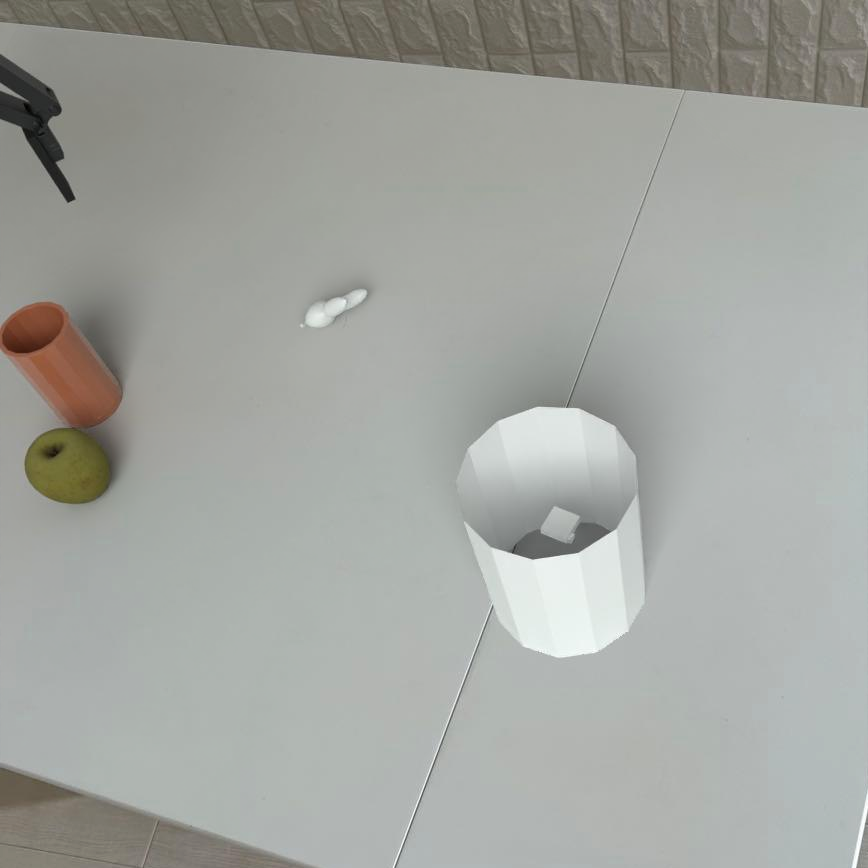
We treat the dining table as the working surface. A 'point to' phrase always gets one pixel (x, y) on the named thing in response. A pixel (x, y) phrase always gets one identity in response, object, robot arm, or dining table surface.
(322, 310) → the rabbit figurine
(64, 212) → the dining table surface
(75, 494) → the apple
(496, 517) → the container
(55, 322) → the cup
